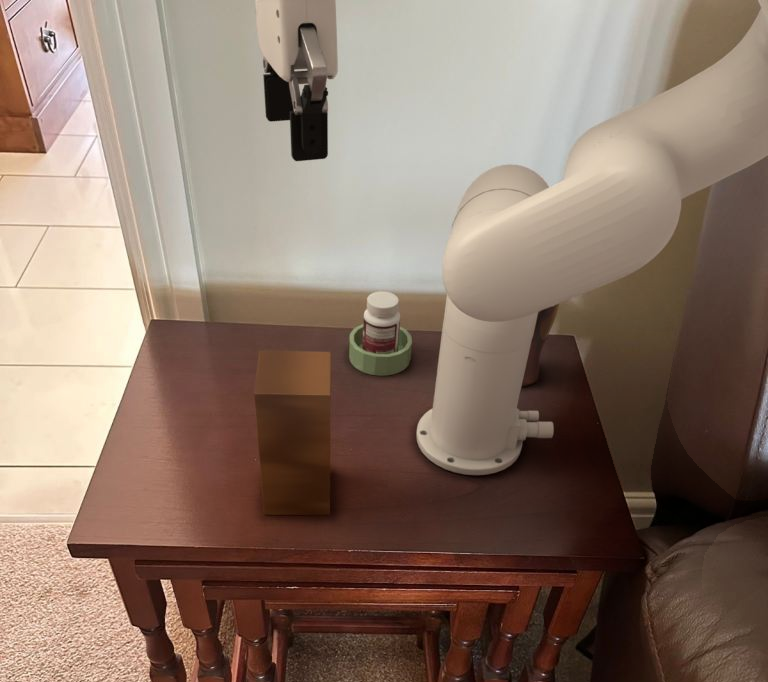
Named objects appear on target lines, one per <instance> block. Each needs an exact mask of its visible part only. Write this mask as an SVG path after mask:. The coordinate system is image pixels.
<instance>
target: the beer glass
mask: <svg viewBox="0 0 768 682" xmlns="http://www.w3.org/2000/svg"><path fill="white" fill-rule="evenodd" d="M560 304H561V303H559V304H556V305H554V306H551V307H549V308H546V309H543V310H541V311H538V315H537V320H536V325H535V329H534V334H533V338H532V341H531V345H530V350H529V355H528V359H527V364H526V368H525V373H524V377H523V382H522V386H521V387H528V386H531V385H533V384H534V383H536V382H537V381H538V379H539V376H540V361H541V360H540V358H541V354H542V351H543V349H544V345H545V343H546V342H547V339H548V336H549V334H550V332H551V330H552V329H553V326H554V322H555V320H556V318H557V315H558V311H559V307H560Z"/></svg>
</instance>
